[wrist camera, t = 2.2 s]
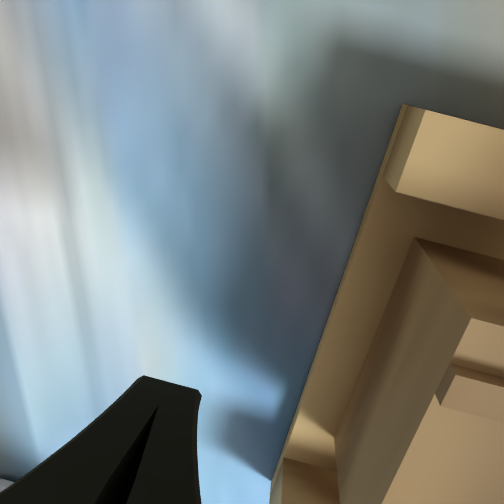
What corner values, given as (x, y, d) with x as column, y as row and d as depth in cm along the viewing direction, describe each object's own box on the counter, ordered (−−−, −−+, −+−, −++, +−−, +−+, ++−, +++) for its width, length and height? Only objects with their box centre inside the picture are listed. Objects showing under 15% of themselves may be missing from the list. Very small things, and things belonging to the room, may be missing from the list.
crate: (333, 437, 17) (347, 592, 12) (413, 236, 14) (478, 328, 9) (494, 479, 17) (577, 655, 12) (609, 287, 14) (787, 409, 9)
